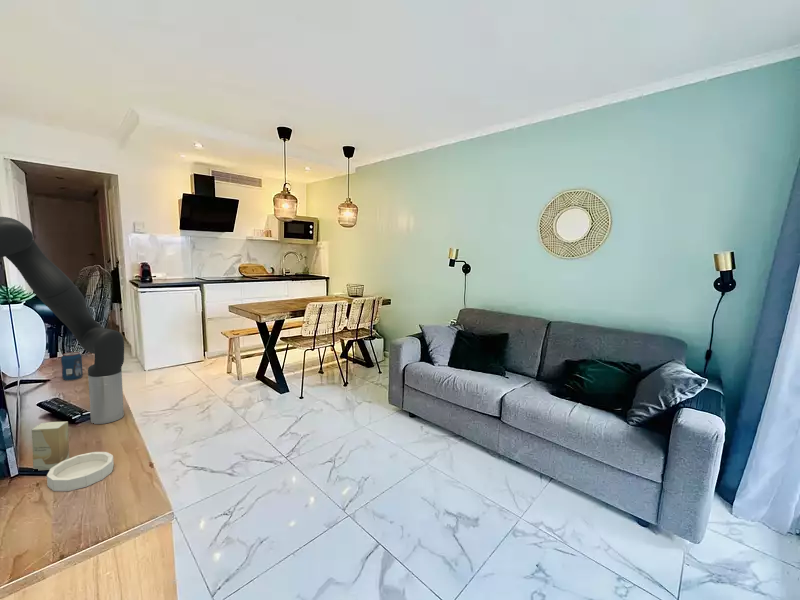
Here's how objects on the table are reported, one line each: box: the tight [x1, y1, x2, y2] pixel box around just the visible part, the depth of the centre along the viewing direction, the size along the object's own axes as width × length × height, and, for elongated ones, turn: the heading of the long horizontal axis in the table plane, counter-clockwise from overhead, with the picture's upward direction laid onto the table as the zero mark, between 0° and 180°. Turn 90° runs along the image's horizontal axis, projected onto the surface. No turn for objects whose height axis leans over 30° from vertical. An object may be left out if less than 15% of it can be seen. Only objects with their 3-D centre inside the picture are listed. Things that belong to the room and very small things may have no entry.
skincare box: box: [31, 421, 70, 471], centre depth 98 cm, size 6×4×12 cm
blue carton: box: [60, 351, 84, 382], centre depth 163 cm, size 7×7×12 cm
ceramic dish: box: [46, 451, 115, 492], centre depth 95 cm, size 13×13×3 cm
